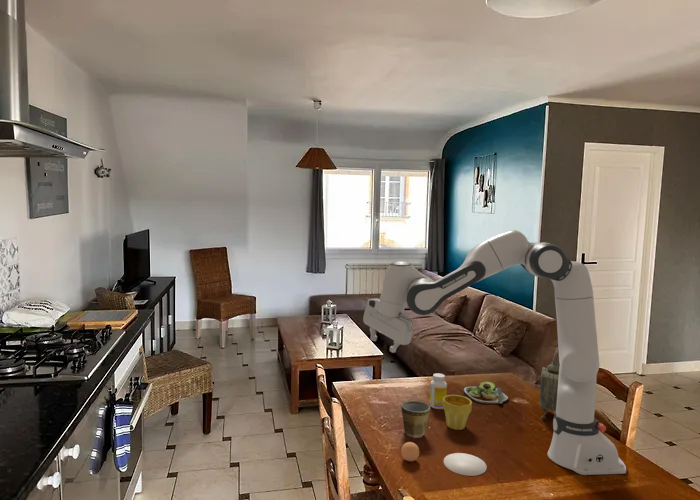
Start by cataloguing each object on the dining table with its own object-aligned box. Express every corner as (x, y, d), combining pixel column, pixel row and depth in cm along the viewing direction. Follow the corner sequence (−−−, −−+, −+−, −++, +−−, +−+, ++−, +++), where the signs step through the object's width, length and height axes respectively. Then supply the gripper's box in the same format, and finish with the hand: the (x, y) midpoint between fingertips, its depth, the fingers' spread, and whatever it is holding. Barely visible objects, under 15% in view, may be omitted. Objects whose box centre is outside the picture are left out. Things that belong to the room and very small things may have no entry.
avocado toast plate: (519, 406, 196) (520, 395, 196) (478, 408, 193) (479, 397, 192) (496, 389, 215) (497, 379, 215) (459, 390, 212) (459, 380, 211)
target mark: (482, 455, 154) (482, 454, 154) (490, 477, 141) (490, 476, 141) (441, 452, 155) (441, 451, 155) (446, 474, 142) (446, 473, 142)
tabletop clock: (540, 406, 195) (544, 346, 193) (564, 411, 192) (569, 350, 190) (537, 420, 182) (542, 356, 180) (563, 425, 179) (568, 360, 177)
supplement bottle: (449, 407, 192) (451, 376, 190) (437, 411, 188) (439, 379, 187) (437, 401, 197) (439, 371, 196) (425, 405, 193) (427, 374, 192)
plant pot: (471, 434, 169) (472, 407, 168) (441, 430, 171) (442, 403, 170) (469, 421, 179) (471, 396, 178) (441, 418, 181) (443, 393, 180)
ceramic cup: (432, 439, 164) (434, 411, 163) (404, 441, 162) (405, 412, 161) (420, 422, 177) (422, 396, 176) (394, 424, 175) (395, 397, 174)
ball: (418, 456, 152) (419, 439, 152) (419, 465, 147) (420, 448, 146) (400, 455, 153) (401, 438, 152) (401, 464, 147) (401, 446, 147)
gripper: (420, 318, 155) (410, 357, 158) (377, 297, 170) (369, 333, 173) (407, 320, 151) (398, 360, 154) (364, 298, 166) (356, 335, 168)
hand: (382, 346), depth 163 cm, fingers open, 8 cm apart
